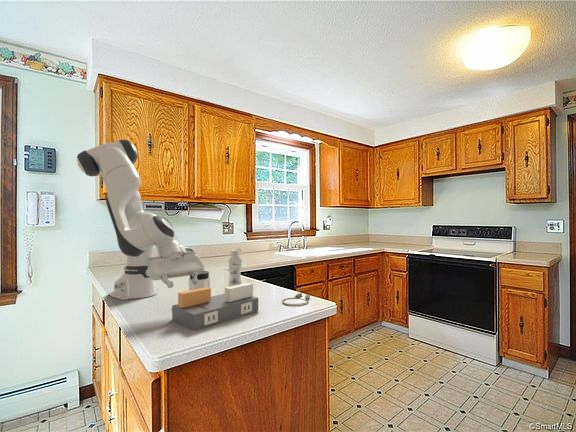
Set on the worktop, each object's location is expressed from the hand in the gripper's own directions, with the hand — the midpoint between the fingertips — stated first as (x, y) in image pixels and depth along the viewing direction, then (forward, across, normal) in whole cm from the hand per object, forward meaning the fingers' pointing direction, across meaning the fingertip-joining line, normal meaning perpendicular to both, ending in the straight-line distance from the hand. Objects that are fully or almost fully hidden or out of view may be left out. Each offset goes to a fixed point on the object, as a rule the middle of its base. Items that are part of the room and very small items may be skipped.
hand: (183, 284), depth 107 cm
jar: (-4, +16, +20) cm, 25 cm away
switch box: (+11, +9, +5) cm, 15 cm away
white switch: (+12, +17, -4) cm, 21 cm away
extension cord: (+20, +43, -4) cm, 48 cm away
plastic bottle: (-3, +34, +19) cm, 39 cm away
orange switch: (+8, +2, 0) cm, 8 cm away
